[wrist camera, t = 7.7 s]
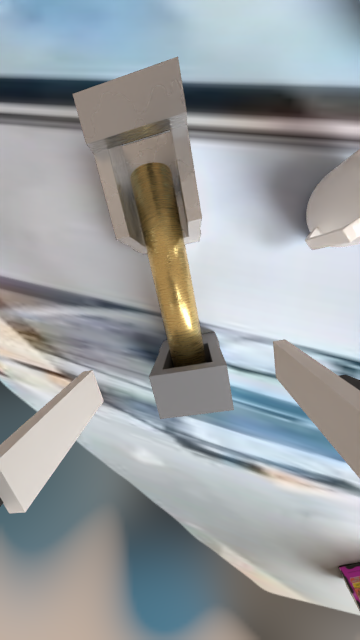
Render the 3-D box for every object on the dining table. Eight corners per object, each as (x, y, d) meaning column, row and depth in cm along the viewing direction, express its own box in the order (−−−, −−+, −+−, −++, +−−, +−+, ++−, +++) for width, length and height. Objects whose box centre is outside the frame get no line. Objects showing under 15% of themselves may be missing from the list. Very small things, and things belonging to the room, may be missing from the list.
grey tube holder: (123, 173, 22) (67, 86, 12) (185, 155, 21) (179, 45, 11) (142, 254, 24) (108, 237, 14) (199, 241, 23) (205, 213, 13)
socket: (163, 340, 27) (147, 376, 17) (214, 332, 26) (228, 364, 16) (170, 369, 28) (158, 419, 18) (219, 361, 27) (235, 409, 17)
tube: (137, 193, 19) (122, 170, 15) (173, 183, 18) (168, 156, 14) (178, 372, 24) (175, 391, 20) (208, 367, 23) (211, 386, 19)
